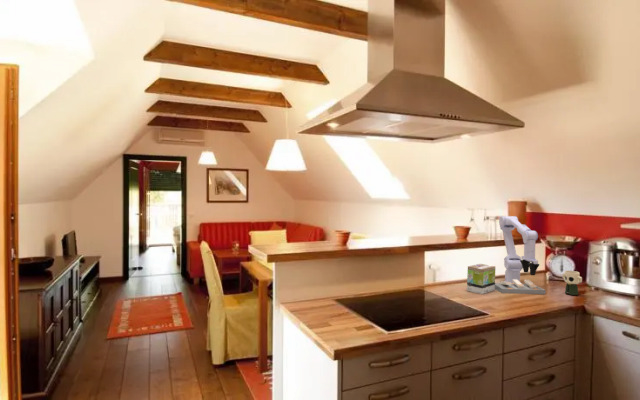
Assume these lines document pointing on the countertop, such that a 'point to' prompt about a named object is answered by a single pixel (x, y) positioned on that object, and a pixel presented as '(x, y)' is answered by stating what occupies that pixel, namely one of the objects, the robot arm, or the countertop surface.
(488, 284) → the tea box
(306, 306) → the countertop surface
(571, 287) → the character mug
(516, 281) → the rocker
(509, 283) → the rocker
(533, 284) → the rocker
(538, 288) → the panel
